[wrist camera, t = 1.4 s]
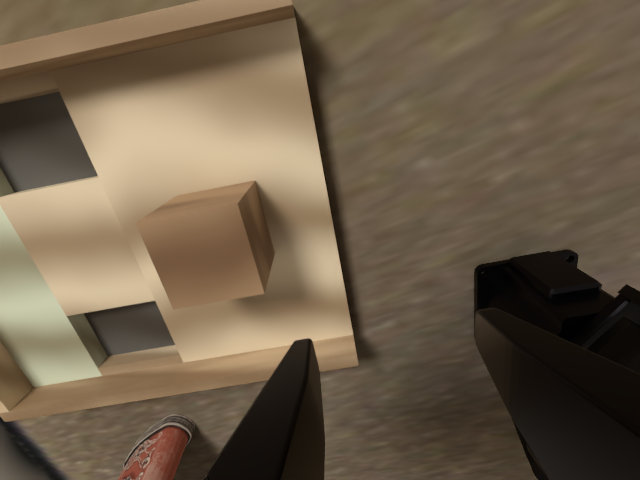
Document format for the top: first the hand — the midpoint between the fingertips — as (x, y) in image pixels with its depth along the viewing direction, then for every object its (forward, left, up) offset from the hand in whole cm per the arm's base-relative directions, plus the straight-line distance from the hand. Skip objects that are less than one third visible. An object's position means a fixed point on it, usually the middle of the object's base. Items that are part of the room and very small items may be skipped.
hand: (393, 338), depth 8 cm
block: (0, +7, -12) cm, 13 cm away
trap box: (0, +13, -13) cm, 18 cm away
